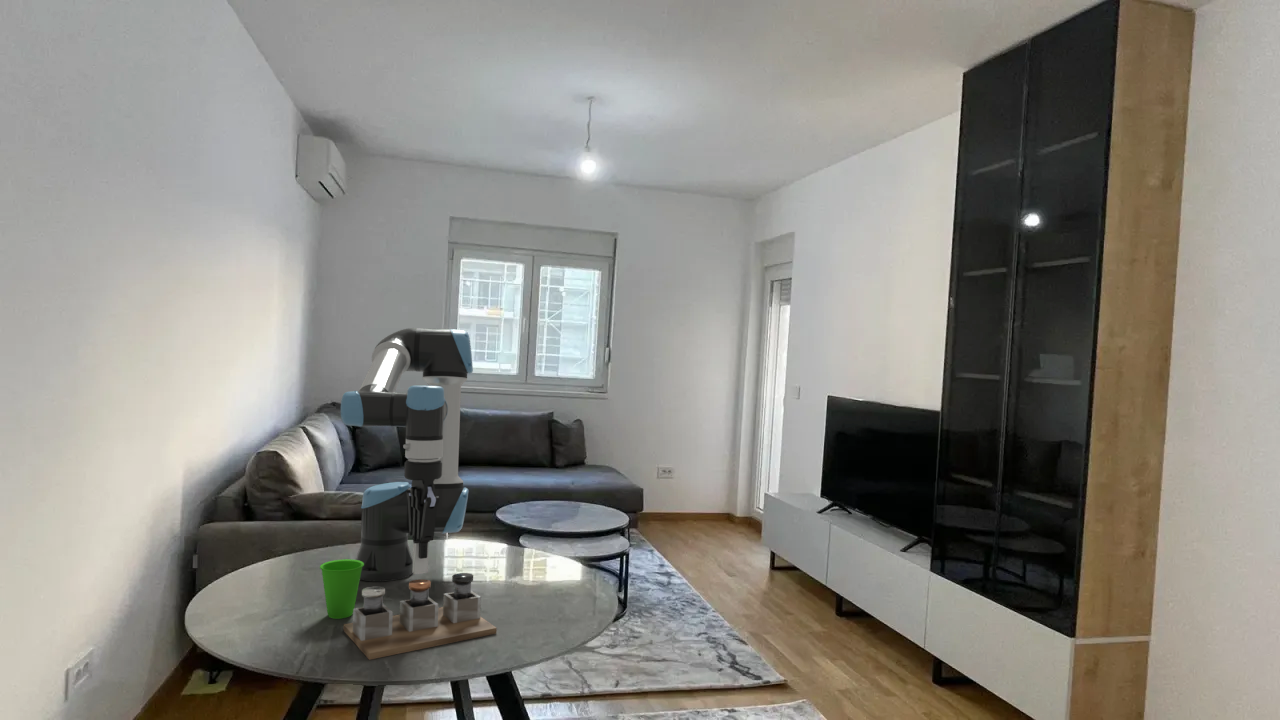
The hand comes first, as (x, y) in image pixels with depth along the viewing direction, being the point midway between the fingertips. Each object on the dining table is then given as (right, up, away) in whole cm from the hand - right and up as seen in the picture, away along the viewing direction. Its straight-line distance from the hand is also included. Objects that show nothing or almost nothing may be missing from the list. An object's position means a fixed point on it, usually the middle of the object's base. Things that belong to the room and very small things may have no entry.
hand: (420, 572), depth 157 cm
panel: (0, -12, -1) cm, 12 cm away
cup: (-20, -12, +8) cm, 24 cm away
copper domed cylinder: (0, -7, 0) cm, 7 cm away
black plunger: (+7, -7, +6) cm, 12 cm away
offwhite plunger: (-8, -7, -5) cm, 12 cm away
